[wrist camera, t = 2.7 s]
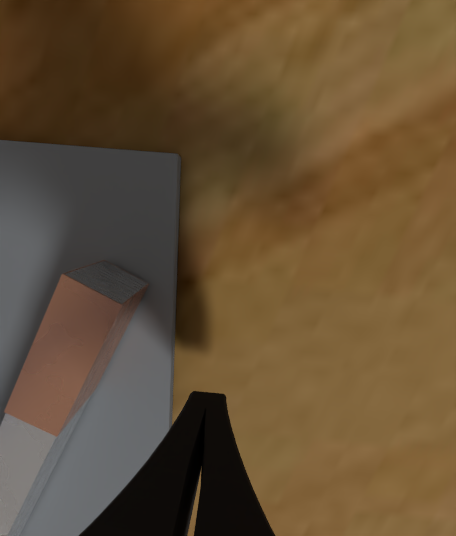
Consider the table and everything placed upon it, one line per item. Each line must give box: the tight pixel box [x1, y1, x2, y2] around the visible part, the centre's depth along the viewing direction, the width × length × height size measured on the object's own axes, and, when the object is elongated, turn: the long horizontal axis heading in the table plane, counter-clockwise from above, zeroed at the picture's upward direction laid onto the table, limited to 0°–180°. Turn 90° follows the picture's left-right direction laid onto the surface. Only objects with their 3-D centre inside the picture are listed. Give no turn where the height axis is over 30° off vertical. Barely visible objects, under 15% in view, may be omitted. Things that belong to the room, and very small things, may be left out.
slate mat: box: [0, 140, 181, 536], centre depth 12 cm, size 24×15×1 cm, turn 175°
